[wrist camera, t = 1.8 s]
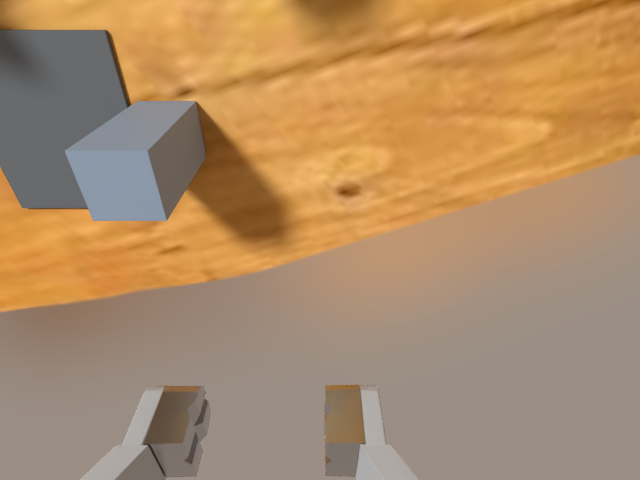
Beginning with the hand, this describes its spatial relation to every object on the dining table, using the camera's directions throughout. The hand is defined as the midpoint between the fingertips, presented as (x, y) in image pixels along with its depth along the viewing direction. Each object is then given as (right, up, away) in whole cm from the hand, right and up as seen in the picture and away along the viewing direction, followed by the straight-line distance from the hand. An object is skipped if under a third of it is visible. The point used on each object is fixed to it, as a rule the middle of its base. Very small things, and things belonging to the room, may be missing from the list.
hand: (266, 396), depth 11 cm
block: (-10, +13, +19) cm, 25 cm away
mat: (-19, +13, +19) cm, 30 cm away
